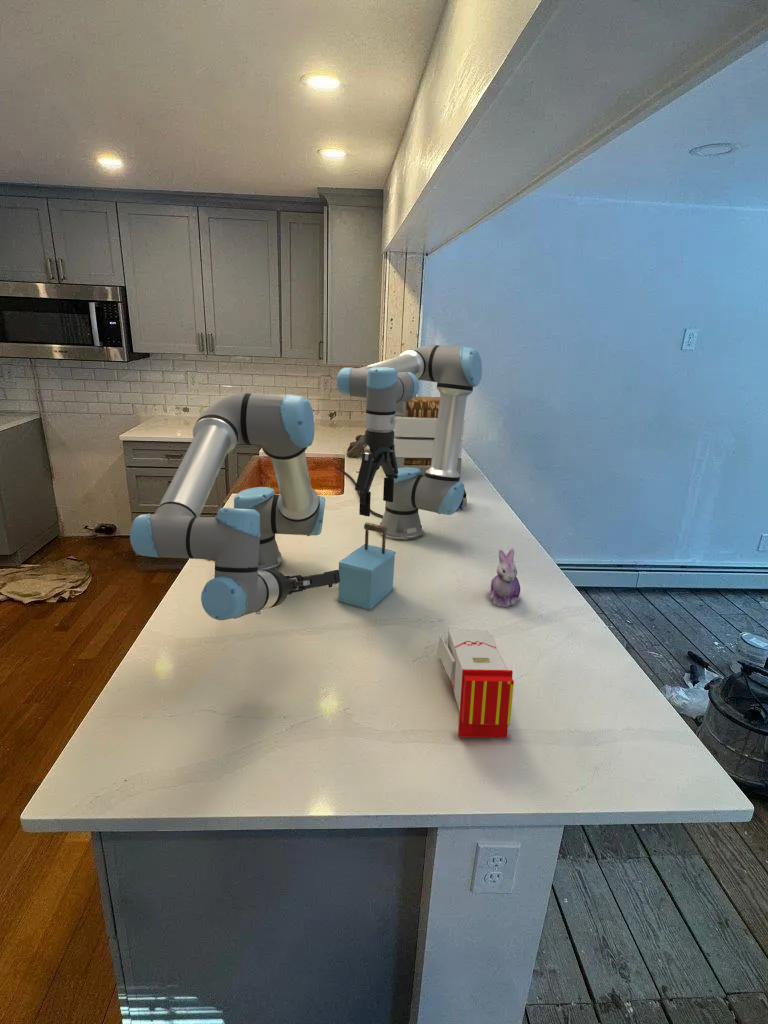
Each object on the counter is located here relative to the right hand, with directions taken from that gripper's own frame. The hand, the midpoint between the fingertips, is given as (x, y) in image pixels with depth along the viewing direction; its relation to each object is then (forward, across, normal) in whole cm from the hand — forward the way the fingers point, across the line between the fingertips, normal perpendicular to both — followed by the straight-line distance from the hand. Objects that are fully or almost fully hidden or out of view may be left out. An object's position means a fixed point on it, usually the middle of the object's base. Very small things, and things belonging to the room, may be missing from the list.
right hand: (376, 508), depth 152 cm
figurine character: (+24, +81, +4) cm, 85 cm away
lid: (+14, -4, 0) cm, 14 cm away
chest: (+24, -4, 0) cm, 25 cm away
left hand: (+9, -30, +1) cm, 31 cm away
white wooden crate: (+24, +118, +37) cm, 126 cm away
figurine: (+24, +13, -34) cm, 44 cm away
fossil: (+24, +134, +80) cm, 158 cm away
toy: (+24, -30, -39) cm, 55 cm away
